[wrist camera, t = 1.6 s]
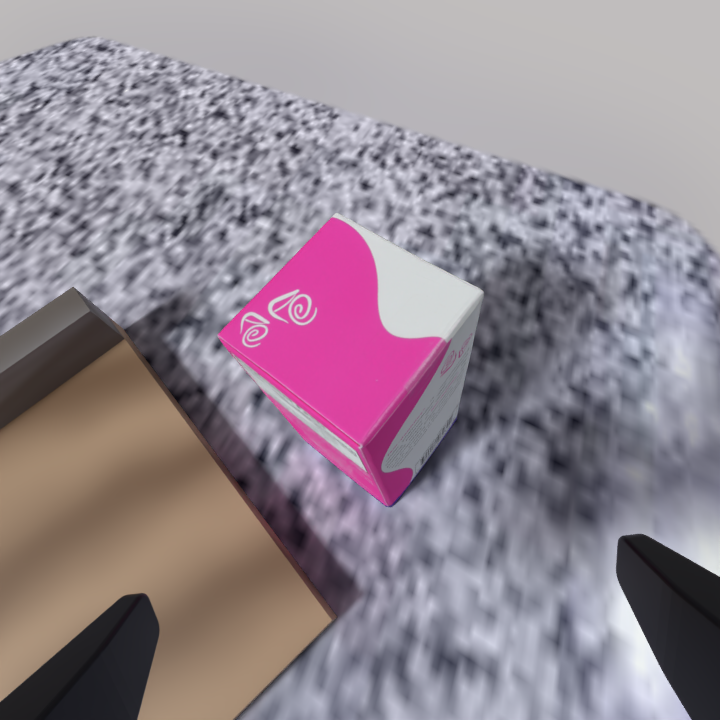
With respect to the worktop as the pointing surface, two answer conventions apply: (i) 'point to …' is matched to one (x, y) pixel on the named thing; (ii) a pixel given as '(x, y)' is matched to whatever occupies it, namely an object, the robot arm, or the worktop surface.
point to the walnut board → (133, 523)
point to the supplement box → (361, 352)
